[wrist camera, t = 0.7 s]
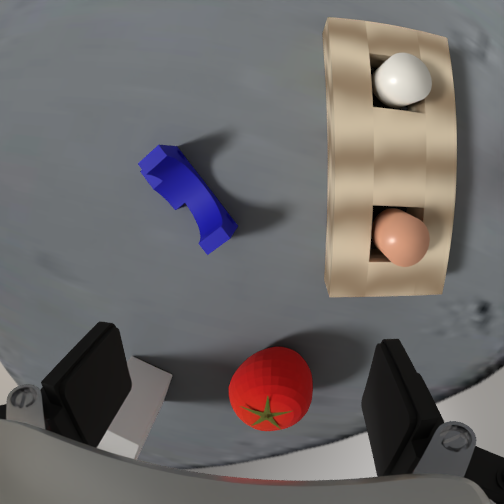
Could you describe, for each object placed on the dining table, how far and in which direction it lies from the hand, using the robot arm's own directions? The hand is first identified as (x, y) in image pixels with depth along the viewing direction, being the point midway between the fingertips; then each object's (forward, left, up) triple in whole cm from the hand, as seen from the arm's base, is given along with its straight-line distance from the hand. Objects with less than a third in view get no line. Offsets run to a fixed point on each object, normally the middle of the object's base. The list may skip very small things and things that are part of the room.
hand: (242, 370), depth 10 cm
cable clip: (-3, -9, -28) cm, 29 cm away
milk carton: (+25, -20, -27) cm, 42 cm away
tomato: (+20, 0, -27) cm, 34 cm away
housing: (-8, +13, -27) cm, 31 cm away
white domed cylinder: (-16, +13, -24) cm, 32 cm away
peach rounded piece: (0, +13, -24) cm, 27 cm away
